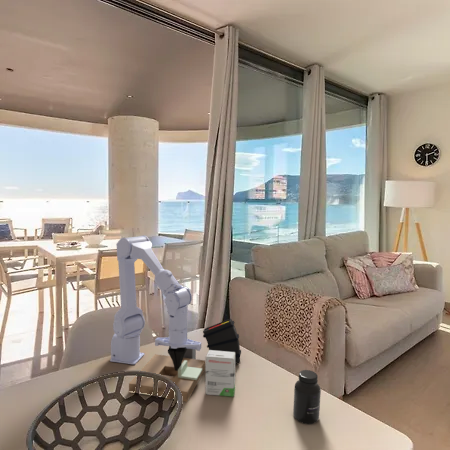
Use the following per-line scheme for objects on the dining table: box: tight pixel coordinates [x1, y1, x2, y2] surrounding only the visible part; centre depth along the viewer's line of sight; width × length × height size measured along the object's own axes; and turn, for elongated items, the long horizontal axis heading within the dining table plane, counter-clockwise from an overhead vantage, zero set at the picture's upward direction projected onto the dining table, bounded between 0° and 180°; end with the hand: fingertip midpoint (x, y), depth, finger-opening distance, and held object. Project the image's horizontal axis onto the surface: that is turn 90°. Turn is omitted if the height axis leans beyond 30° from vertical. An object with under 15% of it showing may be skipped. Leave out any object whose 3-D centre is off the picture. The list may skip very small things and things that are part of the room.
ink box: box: [205, 349, 236, 398], centre depth 104 cm, size 9×5×12 cm, turn 82°
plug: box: [183, 348, 197, 359], centre depth 122 cm, size 4×4×7 cm
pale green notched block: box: [178, 360, 202, 380], centre depth 108 cm, size 6×6×3 cm
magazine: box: [202, 318, 242, 364], centre depth 123 cm, size 4×13×15 cm, turn 81°
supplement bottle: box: [292, 369, 322, 425], centre depth 93 cm, size 7×7×12 cm
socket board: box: [128, 353, 206, 403], centre depth 110 cm, size 18×19×3 cm
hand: (177, 369), depth 109 cm, fingers closed
